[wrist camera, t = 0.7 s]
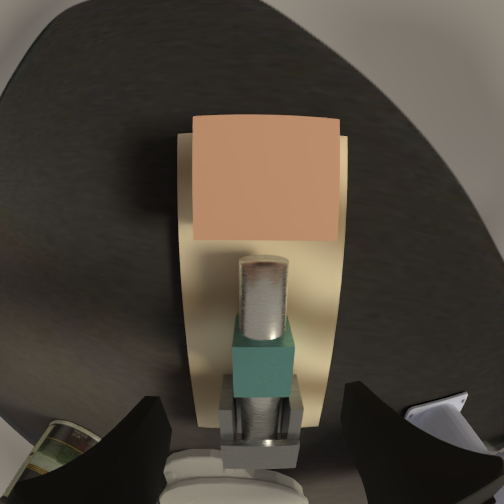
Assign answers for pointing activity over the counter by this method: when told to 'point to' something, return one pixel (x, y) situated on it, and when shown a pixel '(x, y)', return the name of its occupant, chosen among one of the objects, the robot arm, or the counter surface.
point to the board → (227, 299)
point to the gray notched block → (260, 451)
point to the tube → (262, 345)
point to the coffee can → (54, 451)
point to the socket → (265, 177)
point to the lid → (224, 482)
